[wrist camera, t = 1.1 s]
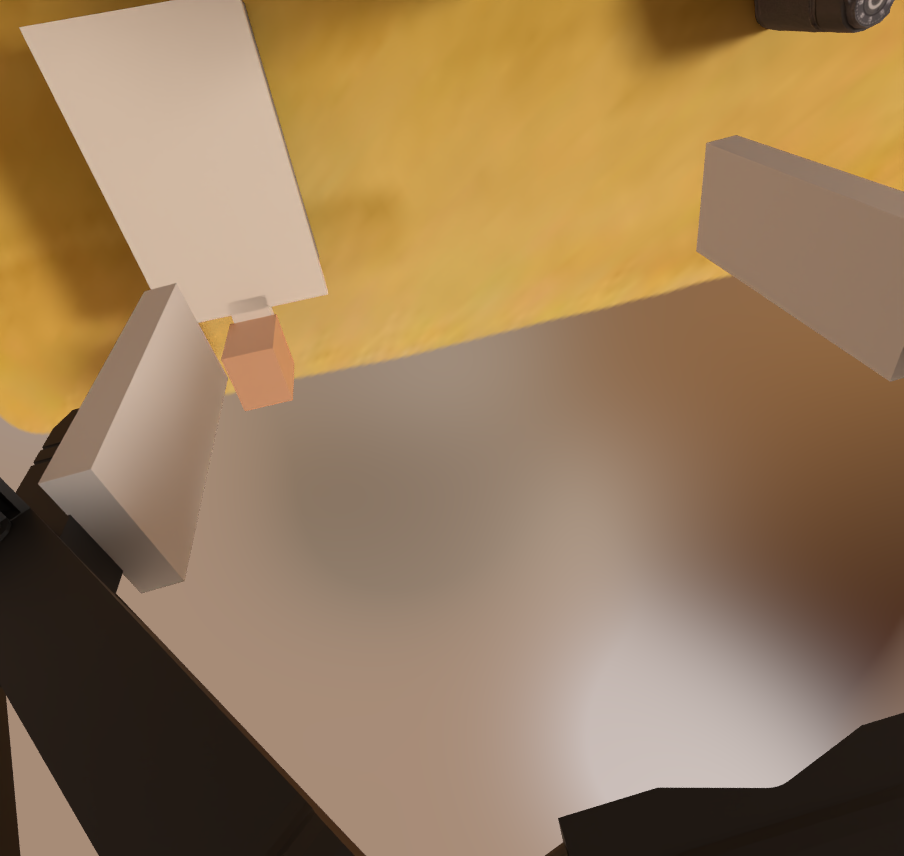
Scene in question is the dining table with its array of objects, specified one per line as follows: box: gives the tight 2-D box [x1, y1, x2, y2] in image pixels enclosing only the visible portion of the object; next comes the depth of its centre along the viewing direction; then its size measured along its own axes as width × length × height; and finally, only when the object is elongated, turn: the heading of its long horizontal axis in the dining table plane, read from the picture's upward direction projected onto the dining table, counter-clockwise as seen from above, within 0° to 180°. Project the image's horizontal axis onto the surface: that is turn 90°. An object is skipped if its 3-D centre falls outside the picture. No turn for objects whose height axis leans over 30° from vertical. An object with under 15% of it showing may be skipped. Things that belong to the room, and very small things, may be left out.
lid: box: [19, 0, 328, 411], centre depth 34 cm, size 21×11×7 cm, turn 8°
